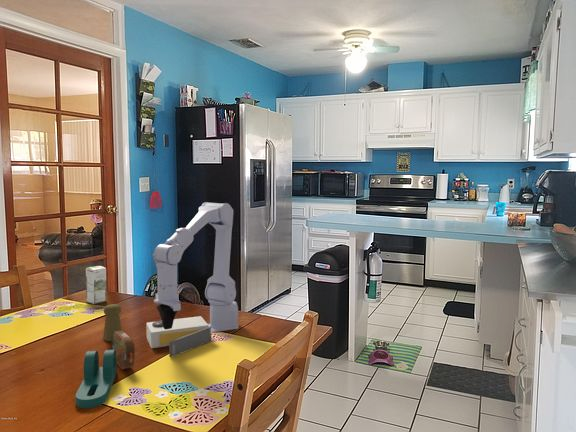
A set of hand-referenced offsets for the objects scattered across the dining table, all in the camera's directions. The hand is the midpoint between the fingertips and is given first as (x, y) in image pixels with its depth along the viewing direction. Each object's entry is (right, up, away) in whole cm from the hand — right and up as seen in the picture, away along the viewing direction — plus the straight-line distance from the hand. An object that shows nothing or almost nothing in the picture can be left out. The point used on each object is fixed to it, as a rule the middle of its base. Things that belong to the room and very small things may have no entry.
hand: (167, 328), depth 138 cm
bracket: (-11, -10, -24) cm, 28 cm away
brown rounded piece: (-11, -8, -8) cm, 16 cm away
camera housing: (0, -6, +11) cm, 12 cm away
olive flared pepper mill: (-21, -6, +11) cm, 24 cm away
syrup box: (-43, -2, +51) cm, 67 cm away
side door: (+7, -7, +3) cm, 10 cm away
